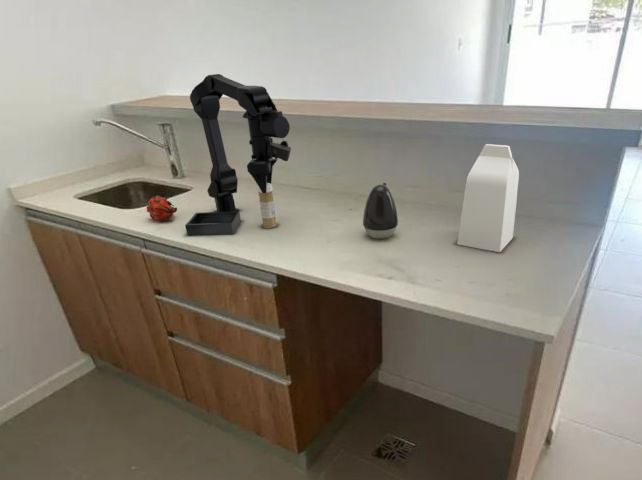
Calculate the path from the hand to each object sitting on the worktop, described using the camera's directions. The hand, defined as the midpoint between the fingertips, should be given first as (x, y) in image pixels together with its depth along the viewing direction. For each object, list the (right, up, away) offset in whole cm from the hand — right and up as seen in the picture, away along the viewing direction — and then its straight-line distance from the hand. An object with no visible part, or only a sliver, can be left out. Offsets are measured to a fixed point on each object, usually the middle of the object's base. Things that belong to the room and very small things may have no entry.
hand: (267, 188), depth 143 cm
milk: (+64, -18, -11) cm, 67 cm away
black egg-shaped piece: (+35, -15, -4) cm, 38 cm away
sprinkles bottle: (0, -10, +7) cm, 13 cm away
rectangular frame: (-18, -11, +8) cm, 22 cm away
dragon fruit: (-38, -6, +18) cm, 43 cm away
